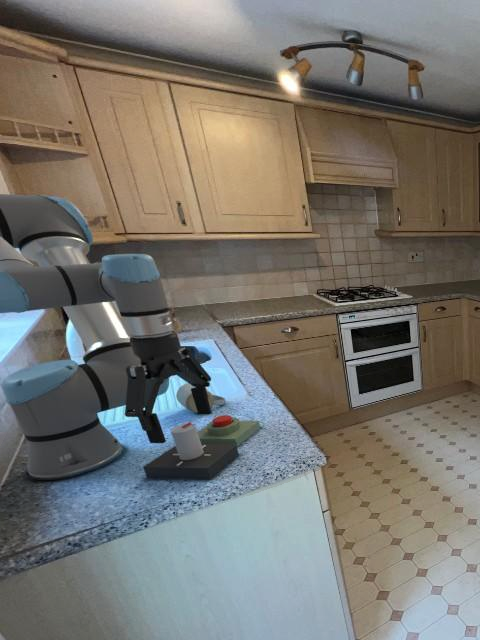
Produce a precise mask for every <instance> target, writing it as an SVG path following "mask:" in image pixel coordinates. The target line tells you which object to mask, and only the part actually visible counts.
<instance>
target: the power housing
mask: <svg viewBox="0 0 480 640" xmlns="http://www.w3.org/2000/svg"><path fill="white" fill-rule="evenodd" d="M231 418H232V424H230V425H227V426H224V427H214V424H213V420H212V421H210V422H209V423H208V424H206V425H205V426H204V427H202V428H201V429H199V430H197V432H198V435H199V439H200V442H201V444H222V445H237V447H239V446H240V445H241V444H242V443H244V442H245V441H246V440H247V439H249V438H250V437H251V436H252V435H254V434H255V433H256V432H257V431H259V430H260V429H261V424H260V421H259V420H240V419H239V418H238V417H236V416H231Z"/></svg>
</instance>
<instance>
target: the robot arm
mask: <svg viewBox="0 0 480 640" xmlns="http://www.w3.org/2000/svg"><path fill="white" fill-rule="evenodd" d="M93 237H94V236H93V233H92V231H91V228H90V227H89V223H88V222H87V220H86V218H85V216H84V215H83V213H82V212H81V211H80V209H79V208H78V207H77V206H76V205H75V204H74V203H72V202H71V201H70V200H68V199H66V198H63V197H60V196H49V195H45V194H36V195H32V194H31V195H30V194H29V195H27V194H10V193H9V194H7V193H0V314H7V313H9V314H10V313H15V314H17V313H18V314H20V313H26V312H31V311H39V310H46V309H47V310H48V309H57V308H62V309H63V310H64V312H65V314H66V315H67V317H68V319H69V321H70V323H71V324H72V326H73V328H74V330H75V332H76V333H77V335H78V337H79V339H80V340H81V342H82V343H83V345H84V347H85V348H86V351H85V353H84V354H83V356H82V360H83V362H84V363H78V362H76V361H75V360H73V359H59V360H55V361H54V360H51V361H46V362H41V363H38V364H37V363H36V364H33V365H31V366H28V367H25V368H21V369H20V370H17V371H15V372H13V373H11V374H9V375H8V376H6V377H5V378H4V379H3V380H2V382H1V389H2V391H3V394H4V397H5V402H6V404H7V405H9V407H10V409H11V411H12V412H13V415H14V417H15V419H16V421H17V424H18V425H19V428H20V429H21V432H22V433H23V436H24V438H25V440H26V441H27V462H26V469H27V473H28V475H29V476H30V478H31V479H33V480H37V481H55V480H63V479H69V478H72V477H76V476H80V475H83V474H86V473H89V472H92V471H94V470H98V469H100V468H102V467H104V466H106V465H108V464H110V463H112V462H113V461H115V460H116V459H117V458H119V457H120V456H121V455H122V453H123V446H122V444H121V443H120V441H119V440H118V439H117V438H116V437H115V436H114V435H113V433H111V432H110V431H109V429H107V428H106V427H105V426H104V425H103V424H102V422H101V420H100V418H99V415H98V414H99V413H102V412H103V413H104V412H106V411H109V410H114V409H117V408H120V407H124V406H125V407H124V416H125V417H126V418H137V419H138V421H139V424H140V427H141V429H142V430H143V431H144V432H145V433H146V436H147V438H148V441H149V444H165V443H166V442H167V440H166V436H165V433H164V431H163V428H162V425H161V423H160V420H159V417H158V414H157V412H153V411H154V408H155V404H156V401H157V397H159V396H162V395H164V394H165V393H166V392H167V391H168V389H169V387H170V377H173V376H177V377H179V378H181V380H183V381H184V382H186V383H189V384H191V385H192V386H193V387H195V388H192V389H191V392H192V395H193V399H194V402H195V405H196V408H197V412H198V413H197V414H198V415H211V414H212V413H213V412H212V407H211V408H210V405H209V401H208V394H207V391H206V389H207V388H209V387H211V383H210V382H211V381H212V377H211V376H210V375H209V373H208V372H207V371H206V370H205V368H204V367H203V366H202V365H201V363H200V362H199V361H198V360H197V358H196V357H195V356H194V353H193V350H192V349H191V348H190V347H182V345H181V343H180V339H179V336H178V333H175V332H172V331H173V330H174V329H175V327H174V324H173V321H172V317H171V315H172V314H170V311H169V308H170V307H169V303H168V300H167V297H166V294H165V289H164V287H163V283H162V280H161V273H160V271H159V270H158V266H157V265H156V263H155V260H154V258H153V257H152V256H151V255H149V254H146V253H119V254H117V253H116V254H107V255H104V256H102V257H101V261H97V262H94V263H91V262H90V261H89V259H88V256H87V255H88V254H89V252H90V248H91V247H90V246H91V245H92V244H93V241H94V239H93ZM17 249H19V251H20V252H19V251H18V250H17ZM29 260H30V261H29ZM31 261H33V262H35V263H37V265H38V266H35V265H34V264H33V263H32V262H31ZM113 302H115V303H116V306H117V308H116V307H115V304H114V303H113ZM118 311H119V312H118Z"/></svg>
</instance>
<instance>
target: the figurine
mask: <svg viewBox="0 0 480 640" xmlns="http://www.w3.org/2000/svg"><path fill="white" fill-rule="evenodd" d="M169 311H170V314H171V317H172V321H173V324H174V327H175V329H174V330H173V331H172V332H175V333H177V334H179V333H182V332H183V329H182V326H181V323H180V322H179V320H178V318H176V313H175V312H174V311H173V307H169Z"/></svg>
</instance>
